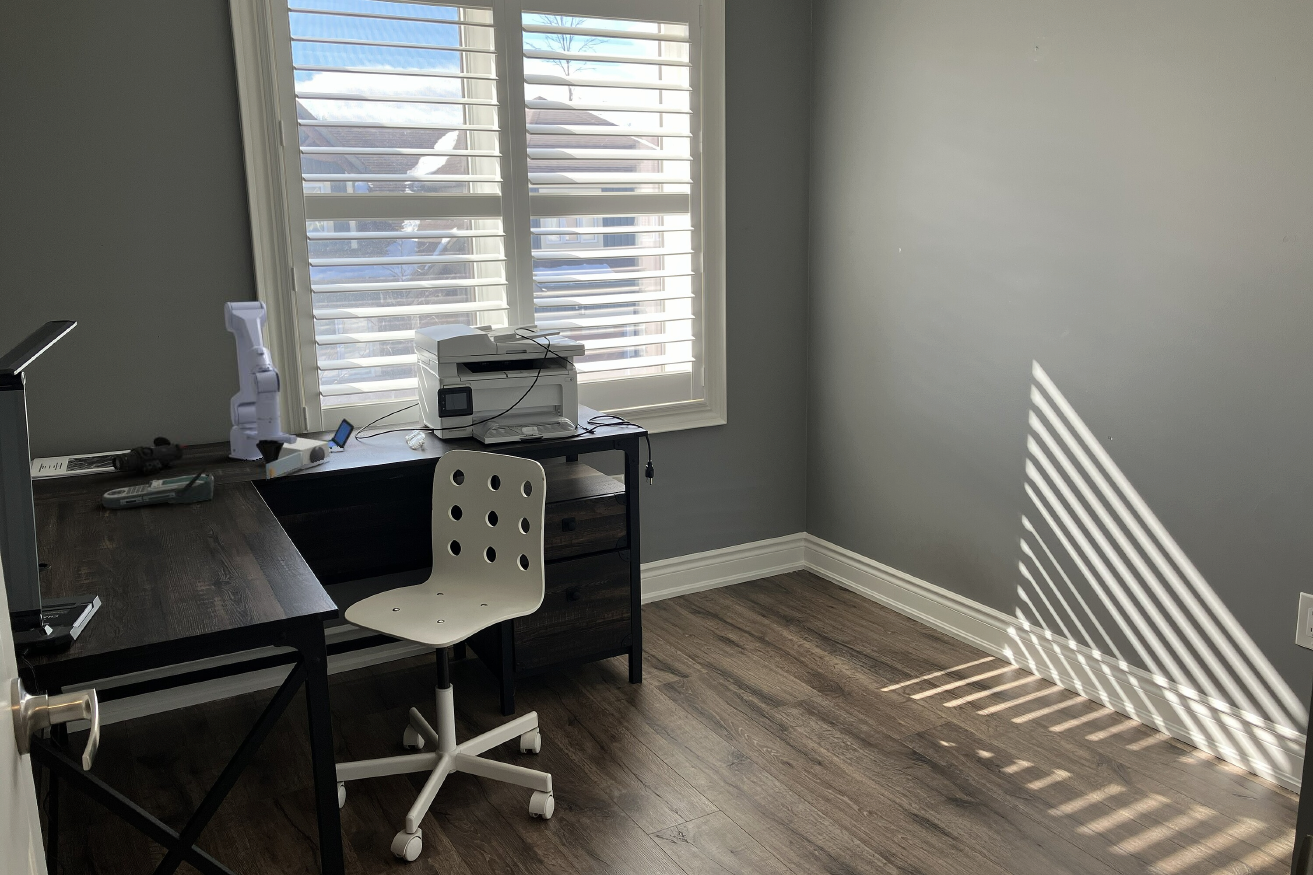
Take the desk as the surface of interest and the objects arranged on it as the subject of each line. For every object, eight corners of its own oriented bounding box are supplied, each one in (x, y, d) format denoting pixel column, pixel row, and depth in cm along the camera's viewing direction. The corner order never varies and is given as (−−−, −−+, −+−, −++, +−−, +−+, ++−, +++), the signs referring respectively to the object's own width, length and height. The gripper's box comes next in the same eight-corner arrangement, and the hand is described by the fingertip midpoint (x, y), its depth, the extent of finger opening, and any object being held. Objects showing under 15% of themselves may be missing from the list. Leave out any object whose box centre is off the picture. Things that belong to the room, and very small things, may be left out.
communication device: (107, 500, 237) (102, 464, 235) (215, 490, 245) (211, 456, 243) (100, 514, 226) (95, 477, 224) (213, 503, 234) (209, 468, 232)
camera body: (264, 463, 269) (262, 441, 268) (291, 455, 278) (290, 434, 277) (305, 470, 263) (304, 448, 262) (332, 461, 272) (330, 440, 271)
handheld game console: (308, 445, 291) (307, 421, 289) (345, 441, 296) (344, 417, 294) (317, 455, 280) (316, 429, 278) (356, 450, 285) (354, 426, 284)
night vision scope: (119, 488, 253) (100, 459, 255) (183, 474, 267) (165, 447, 270) (128, 468, 249) (109, 439, 251) (193, 455, 263) (174, 428, 266)
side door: (300, 467, 263) (299, 451, 262) (305, 468, 263) (304, 452, 262) (266, 481, 250) (265, 464, 249) (271, 481, 250) (270, 464, 249)
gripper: (233, 418, 251) (238, 469, 254) (282, 422, 247) (286, 474, 250) (252, 412, 258) (256, 462, 261) (299, 417, 254) (303, 467, 257)
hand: (272, 468), depth 256 cm, fingers closed
